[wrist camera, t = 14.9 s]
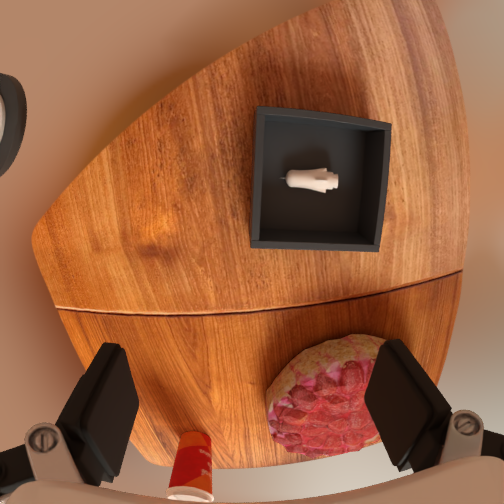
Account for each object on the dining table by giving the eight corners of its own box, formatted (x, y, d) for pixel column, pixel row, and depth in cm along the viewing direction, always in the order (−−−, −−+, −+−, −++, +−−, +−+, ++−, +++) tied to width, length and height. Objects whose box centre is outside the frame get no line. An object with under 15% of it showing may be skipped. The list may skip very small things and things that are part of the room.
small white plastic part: (290, 150, 31) (295, 150, 28) (337, 175, 32) (346, 177, 29) (276, 179, 32) (279, 182, 29) (323, 203, 33) (331, 208, 30)
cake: (426, 317, 38) (451, 349, 31) (394, 419, 47) (405, 450, 40) (260, 336, 39) (260, 378, 32) (269, 437, 48) (269, 471, 41)
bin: (254, 113, 30) (256, 105, 25) (370, 127, 31) (391, 123, 26) (249, 233, 34) (250, 248, 29) (360, 238, 35) (378, 252, 30)
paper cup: (214, 452, 47) (211, 512, 34) (174, 446, 47) (164, 505, 33) (219, 430, 45) (216, 497, 32) (176, 423, 44) (164, 489, 31)
